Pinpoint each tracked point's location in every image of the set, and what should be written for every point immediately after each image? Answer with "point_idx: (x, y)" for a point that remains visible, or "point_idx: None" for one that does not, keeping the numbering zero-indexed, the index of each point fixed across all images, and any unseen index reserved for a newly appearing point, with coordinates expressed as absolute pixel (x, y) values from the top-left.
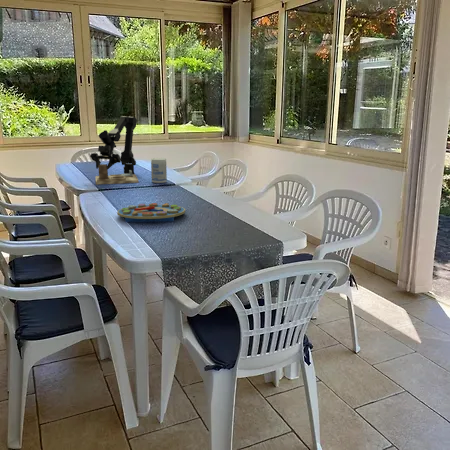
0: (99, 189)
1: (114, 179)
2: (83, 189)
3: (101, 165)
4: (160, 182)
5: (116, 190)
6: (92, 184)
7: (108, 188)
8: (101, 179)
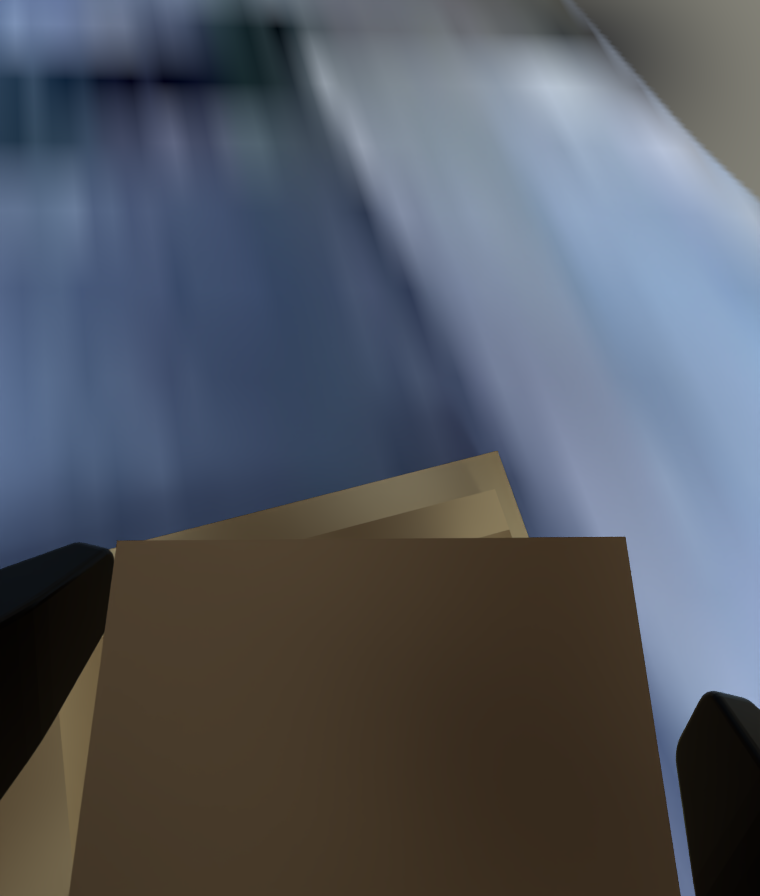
0: (298, 88)
1: None
2: (554, 91)
3: (402, 544)
4: None
5: (19, 27)
6: (568, 489)
7: (162, 147)
8: None
